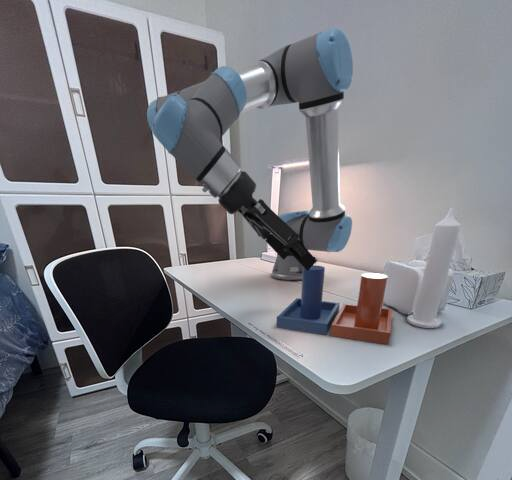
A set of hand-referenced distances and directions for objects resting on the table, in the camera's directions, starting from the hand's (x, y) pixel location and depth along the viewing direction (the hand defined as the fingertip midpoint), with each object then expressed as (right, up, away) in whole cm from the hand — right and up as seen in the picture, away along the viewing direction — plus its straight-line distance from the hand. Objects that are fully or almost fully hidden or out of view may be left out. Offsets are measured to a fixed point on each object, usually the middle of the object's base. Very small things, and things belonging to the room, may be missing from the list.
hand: (298, 260), depth 66 cm
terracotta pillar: (+15, -16, -1) cm, 22 cm away
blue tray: (+4, -13, +6) cm, 15 cm away
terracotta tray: (+15, -15, +2) cm, 21 cm away
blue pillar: (+4, -12, +7) cm, 14 cm away
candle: (+30, -14, +3) cm, 34 cm away
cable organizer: (+32, -9, +14) cm, 36 cm away
